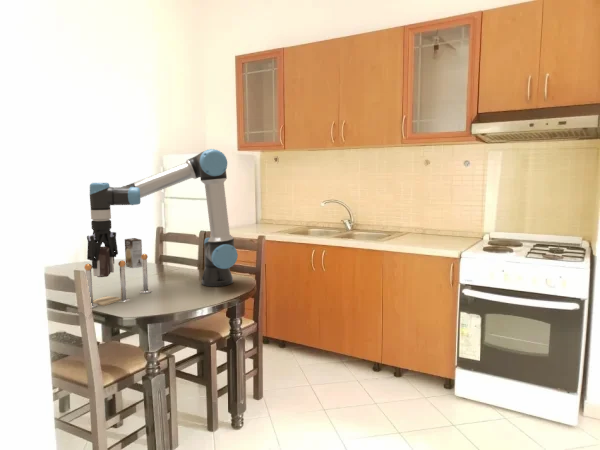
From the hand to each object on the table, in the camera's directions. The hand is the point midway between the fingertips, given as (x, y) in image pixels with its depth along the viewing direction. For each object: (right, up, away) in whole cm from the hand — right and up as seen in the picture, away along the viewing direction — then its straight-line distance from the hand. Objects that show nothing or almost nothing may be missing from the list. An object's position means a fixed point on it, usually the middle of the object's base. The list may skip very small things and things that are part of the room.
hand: (104, 273), depth 184 cm
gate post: (+12, -10, +16) cm, 22 cm away
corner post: (+7, -12, +3) cm, 14 cm away
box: (0, -1, 0) cm, 1 cm away
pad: (0, -12, +1) cm, 12 cm away
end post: (-3, -13, -6) cm, 14 cm away
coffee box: (-15, -4, +74) cm, 76 cm away
